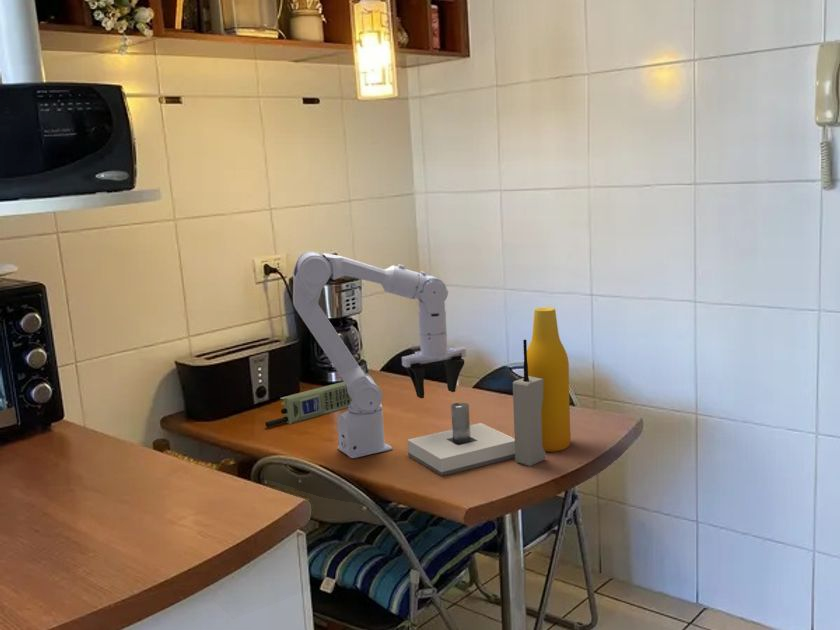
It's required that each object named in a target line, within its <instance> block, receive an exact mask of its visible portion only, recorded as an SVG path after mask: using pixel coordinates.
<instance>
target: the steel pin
mask: <svg viewBox="0 0 840 630" xmlns="http://www.w3.org/2000/svg"><path fill="white" fill-rule="evenodd" d="M450 410H451V425H452V426H451V428H452V429H451V430H452V432H453V443H454V444H456V445H462V444H466V443H470V442H471V440H470V425H471V424H470V423H471V422H470V421H471V419H470V404H469V403H467V402H455V403H453V404H451V405H450Z"/></svg>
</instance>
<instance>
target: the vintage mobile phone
mask: <svg viewBox="0 0 840 630" xmlns="http://www.w3.org/2000/svg"><path fill="white" fill-rule="evenodd" d="M522 342H523V377H522V378H519V379H517V380H514V381H513V382H512V399H513V400H512V401H513V403H512V404H513V425H514V426H513V427H514V431H513V432H514V433H513V435H514V438H515V458H514V460H515V462H516V463H518V464H521V465H525V466H528V467H531V466H534V465H536V464H538V463H541V462H542V461H545V459H546V452H544V449H543V447H542V420H541V408H542V404H543V379H541V378H536V377H531V376H528V363H527V349H528V346H527V345H528V343H527V339H522Z"/></svg>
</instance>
